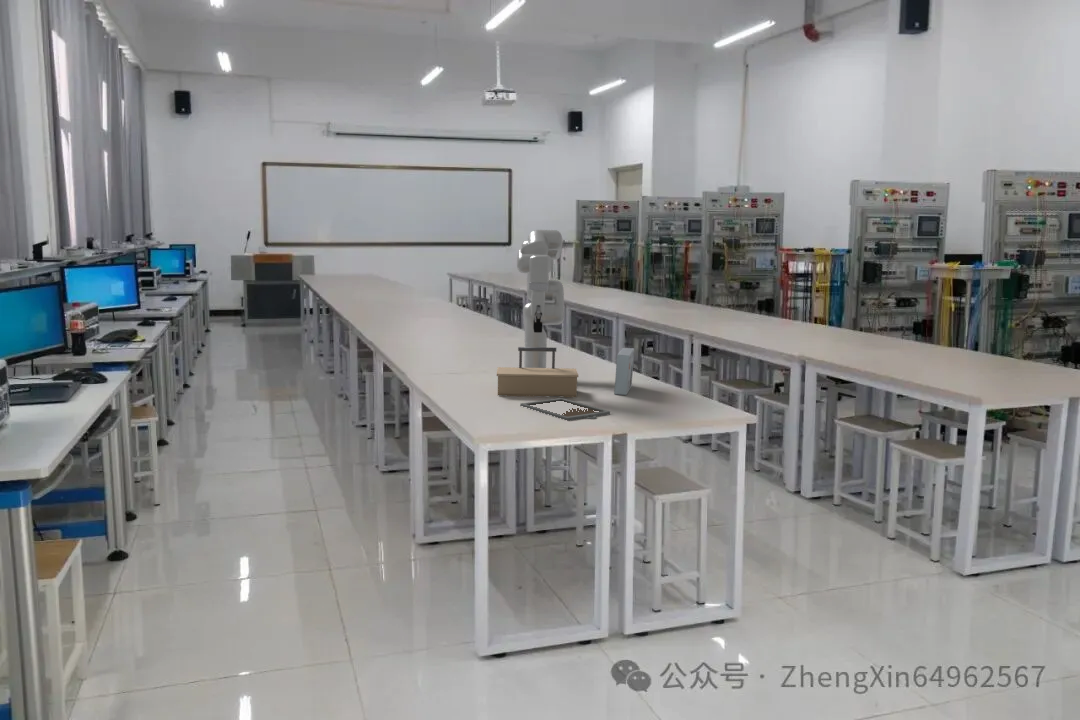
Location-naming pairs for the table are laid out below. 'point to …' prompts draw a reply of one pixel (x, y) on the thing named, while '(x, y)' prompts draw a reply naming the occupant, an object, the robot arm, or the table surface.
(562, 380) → the mailer box
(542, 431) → the table surface
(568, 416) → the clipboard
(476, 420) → the table surface
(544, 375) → the lid
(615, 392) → the skincare box
